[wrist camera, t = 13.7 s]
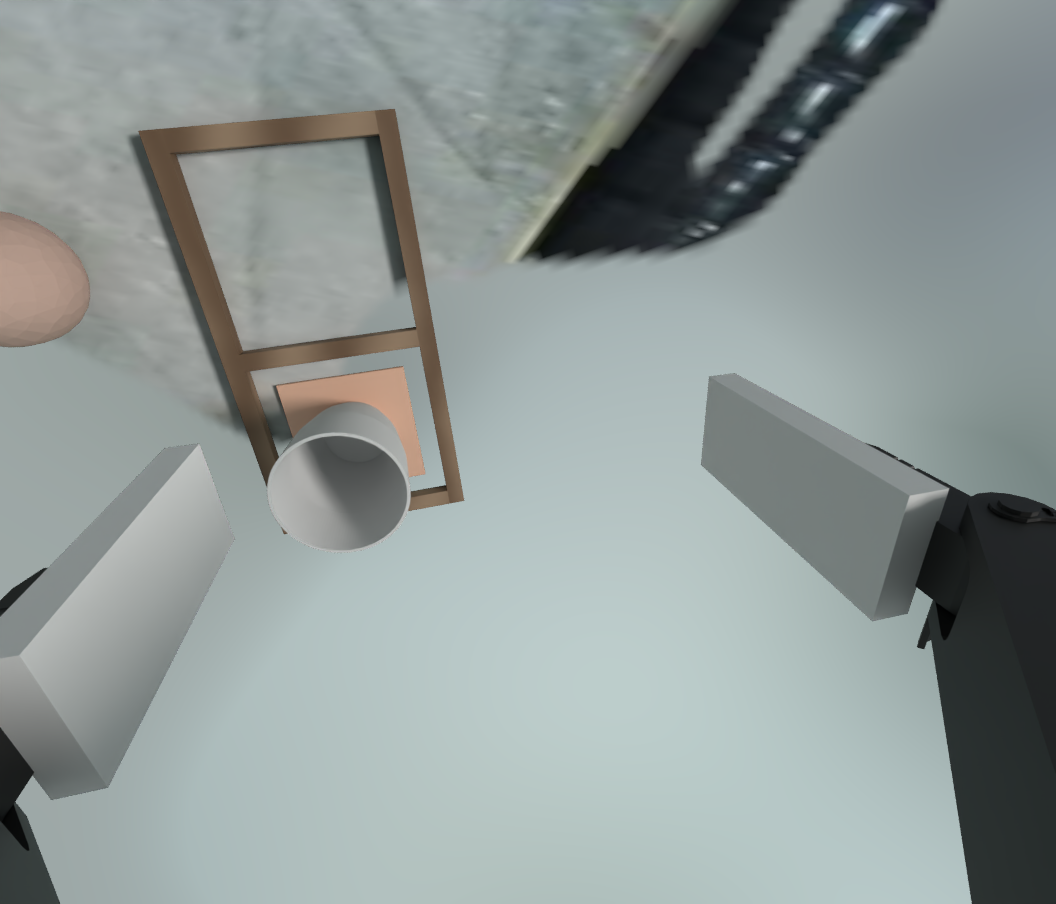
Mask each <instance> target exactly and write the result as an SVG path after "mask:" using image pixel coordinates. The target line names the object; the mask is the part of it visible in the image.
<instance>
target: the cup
mask: <svg viewBox="0 0 1056 904" xmlns="http://www.w3.org/2000/svg"><path fill="white" fill-rule="evenodd" d="M267 497H268V503H269V506H270V509H271V511H272V513H273V516H274V517H275V519H276V521H277V522H278V523H279V525H280V526H281V527H282V528H283V529H284V530H285V531H286V532H287V533H288V534H289V535H290V536H292V537H293V538H294V539H296V540H298V541H299V542H301V543H303V544H305V545H307V546H309V547H312V548H315V549H318V550H322V551H327V552H335V553H336V552H337V553H348V552H355V551H361V550H364V549H367V548H370V547H373V546H375V545H377V544H379V543H381V542H383V541H384V540H386V539H387V538H388V537H389V536H391V535H392V534H393V533H394V532H395V531H396V530H397V529H398V528H399V526H400V525H401V524H402V522H403V521H404V519H405V517H406V515H407V512H408V509H409V505H410V498H411V491H410V482H409V473H408V465H407V458H406V453H405V450H404V448H403V445H402V443H401V440H400V438H399V435H398V433H397V430H396V428H395V427H394V425H393V424H392V422H391V421H390V420H389V419H388V418H387V417H386V416H385V415H384V414H383V413H382V412H380V411H379V410H378V409H377V408H375V407H373V406H371V405H369V404H366V403H363V402H347V403H342V404H338V405H334V406H331V407H329V408H327V409H325V410H324V411H322V412H321V413H319V414H318V415H317V416H316V417H314V418H313V419H312V420H311V421H309V422H308V423H307V424H306V425H305V426H303V427H302V428H301V429H300V430H299V431H298V432H297V434H296V435H295V436H294V438H293V439H292V440H291V442H290V443H289V445H288V446H287V447H286V449H285V450H284V452H283V453H282V454H281V456H280V457H279V458H278V460H277V461H276V463H275V464H274V466H273V468H272V470H271V472H270V475H269V479H268V484H267Z"/></svg>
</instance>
